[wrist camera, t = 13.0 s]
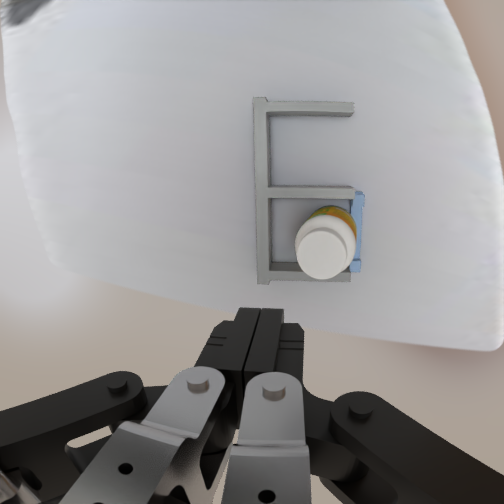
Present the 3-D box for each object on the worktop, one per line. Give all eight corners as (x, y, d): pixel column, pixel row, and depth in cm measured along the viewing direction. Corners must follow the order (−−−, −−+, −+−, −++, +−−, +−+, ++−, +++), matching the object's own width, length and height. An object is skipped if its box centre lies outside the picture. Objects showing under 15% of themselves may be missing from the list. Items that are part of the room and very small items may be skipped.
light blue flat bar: (350, 191, 32) (353, 192, 31) (361, 191, 32) (364, 193, 30) (347, 267, 35) (349, 273, 33) (357, 268, 34) (360, 273, 33)
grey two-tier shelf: (257, 102, 31) (253, 97, 28) (349, 103, 30) (353, 97, 27) (261, 274, 36) (257, 284, 34) (346, 276, 35) (350, 286, 32)
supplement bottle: (330, 194, 32) (318, 206, 23) (367, 229, 32) (369, 255, 23) (297, 230, 35) (273, 255, 26) (333, 264, 34) (322, 300, 25)
